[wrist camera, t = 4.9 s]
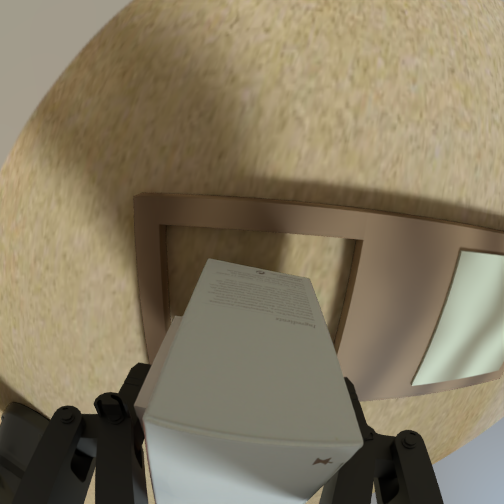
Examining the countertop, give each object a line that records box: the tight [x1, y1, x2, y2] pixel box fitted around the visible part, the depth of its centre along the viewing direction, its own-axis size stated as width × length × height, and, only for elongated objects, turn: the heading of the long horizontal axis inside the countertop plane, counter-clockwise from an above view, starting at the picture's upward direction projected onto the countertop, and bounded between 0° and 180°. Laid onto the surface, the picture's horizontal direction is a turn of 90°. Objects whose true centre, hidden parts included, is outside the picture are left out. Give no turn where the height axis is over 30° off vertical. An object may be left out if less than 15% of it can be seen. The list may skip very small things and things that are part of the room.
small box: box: [142, 258, 363, 504], centre depth 12 cm, size 8×6×10 cm
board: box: [134, 193, 504, 401], centre depth 17 cm, size 32×14×1 cm, turn 86°
